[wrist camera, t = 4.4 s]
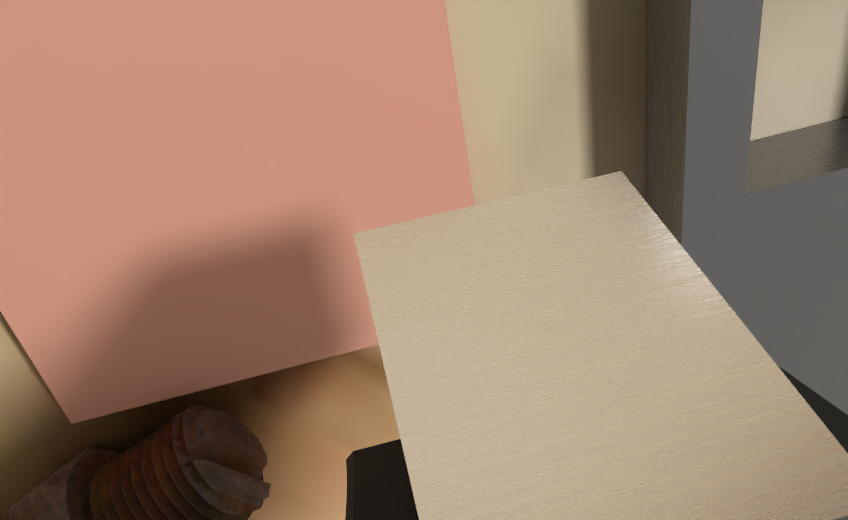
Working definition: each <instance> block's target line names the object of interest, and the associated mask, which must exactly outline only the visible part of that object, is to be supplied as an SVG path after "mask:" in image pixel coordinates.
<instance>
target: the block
mask: <svg viewBox="0 0 848 520" xmlns="http://www.w3.org/2000/svg"><path fill="white" fill-rule="evenodd" d="M762 6H763V0H648V22H647V167H646V202H647V204H648V205H649V206H650V207H651V209H652V210H653V211H654V212H655V213H656V215H657V216H658V217H659V218H660V220H661V221H662V222H663V223H664V225H665V226H666V227H667V228H668V230H669V231H670V232H671V233H672V235H673V236H674V237H675V238H676V240H677V241H678V242H679V243H680V245H681V246H682V247H683V248H684V250H685V251H686V252H687V253H688V255H689V256H690V257H691V258H692V260H693V261H694V262H695V263H696V265H697V266H698V267H699V268H700V270H701V271H702V272H703V273H704V275H705V276H706V277H707V278H708V280H709V281H710V282H711V283H712V285H713V286H714V287H715V288H716V290H717V291H718V292H719V293H720V295H721V296H722V297H723V298H724V300H725V301H726V302H727V303H728V305H729V306H730V307H731V308H732V310H733V311H734V312H735V313H736V315H737V316H738V317H739V318H740V320H741V321H742V322H743V323H744V325H745V326H746V327H747V328H748V330H749V331H750V332H751V333H752V335H753V336H754V337H755V338H756V340H757V341H758V342H759V343H760V345H761V346H762V347H763V348H764V350H765V351H766V352H767V353H768V355H769V356H770V357H771V358H772V360H773V361H774V362H775V363H776V364H777V365H778V366H780V367H781V368H782V369H784V370H785V371H787V372H788V373H789V374H791V375H792V376H794V377H795V378H796V379H798V380H799V381H801V382H802V383H803V384H805V385H806V386H808V387H809V388H810V389H812V390H813V391H815V392H816V393H818V394H819V395H820V396H822V397H823V398H825V399H826V400H827V401H829V402H830V403H832V404H833V405H835V406H836V407H837V408H839V409H840V410H842V411H843V412H845V413H846V414H847V415H848V117H847V118H843V119H839V120H835V121H831V122H827V123H823V124H819V125H815V126H811V127H807V128H803V129H799V130H795V131H791V132H787V133H783V134H779V135H775V136H771V137H767V138H763V139H759V140H755V141H751V142H750V134H751V123H752V113H753V102H754V92H755V81H756V70H757V60H758V49H759V38H760V28H761V17H762Z"/></svg>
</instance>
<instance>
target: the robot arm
mask: <svg viewBox="0 0 848 520" xmlns="http://www.w3.org/2000/svg"><path fill="white" fill-rule="evenodd" d="M776 365H777V364H776ZM777 366H778V365H777ZM778 367H779V368H780V370H781V371H782V372H783V373H784V375H785V376H786V377H787V378H788V380H789V381H790V382H791V383H792V385H793V386H794V387H795V388H796V390H797V391H798V392H799V393H800V395H801V396H802V397H803V398H804V400H805V401H806V402H807V403H808V404H809V406H810V407H811V408H812V409H813V411H814V412H815V413H816V414H817V416H818V417H819V418H820V419H821V421H822V422H823V423H824V424H825V426H826V427H827V428H828V429H829V431H830V432H831V433H832V434H833V436H834V437H835V438H836V439H837V441H838V442H839V443H840V444H841V446H842V447H843V448H844V449H845V451H846V452H847V453H848V415H847V414H846V413H845V412H843V411H842V410H840V409H839V408H837V407H836V406H835V405H833V404H832V403H830V402H829V401H827V400H826V399H825V398H823V397H822V396H820V395H819V394H818V393H816V392H815V391H813V390H812V389H810V388H809V387H808V386H806V385H805V384H803V383H802V382H801V381H799V380H798V379H796V378H795V377H794V376H792V375H791V374H789V373H788V372H787V371H785V370H784V369H782V368H781V367H780V366H778ZM346 463H347V504H346V519H345V520H419V517H418V513H417V509H416V504H415V500H414V496H413V491H412V487H411V482H410V478H409V474H408V469H407V465H406V461H405V456H404V452H403V447H402V443H401V439H399V440H395V441H391V442H387V443H383V444H379V445H376V446H372V447H368V448H364V449H360V450H356V451H353V452H352V453H351V455H350V456H349V457H348V458H347V459H346Z"/></svg>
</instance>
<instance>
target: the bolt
mask: <svg viewBox="0 0 848 520" xmlns="http://www.w3.org/2000/svg"><path fill="white" fill-rule="evenodd" d="M266 464H267V455H266V453H265V451H264V449H263V447H262V445H261V444H260V442H259V440H258V439H257V438H256V437H255V436H254V435H253V434H252V433H251V432H250V431H249V430H248V429H247V428H246V427H245V426H244V425H242V424H241V423H240V422H239V421H237V420H236V419H235V418H234V417H233V416H231V415H230V414H228V413H226V412H224V411H221V410H217V409H212V408H211V407H208V406H205V405H194V406H190V407H188V408H187V409H186V410H185V411H181V412H180V413H178V414H177V415H176V416H175V417H172V418H171V419H169V420H168V422H167V423H165V424H163V425H162V426H160V427H159V428H157V429H156V431H153V432H150V434H149V435H148V436H147V438H143V439H140V441H139V442H138V443H137V444H135V445H133V446H132V447H130V448H129V449H127V450H126V452H122V453H120V454H119V453H118V452H115V451H113V450H109V449H104V448H97V447H91V446H90V447H88V448H87V449H85V450H84V451H83V452H81V453H80V454H78V455H77V456H75V457H74V458H73V459H71V460H70V461H68V462H67V463H66V464H64V465H63V466H61V467H60V468H59V469H57V470H56V471H54V472H53V473H52V474H50V475H49V476H48V477H47V478H45V479H44V480H43V481H41V482H40V483H39V484H38V485H36V486H35V487H34V488H32V489H31V490H30V491H29V492H27V493H26V494H25V495H24V496H22V497H21V498H20V499H19V500H18V501H16V502H15V503H14V504H13V505H12V506H11V507H10V508H9V515H8V520H247V519H248V518H249V517H250V516H251V513H252V511H255V510H257V509H259V508H261V507H262V504H263V500H264V499H265V498H267V497H269V491H270V484H269V483H266V482H264V481H261V480H263V473H262V470H263V468H264V467H265V465H266Z"/></svg>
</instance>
